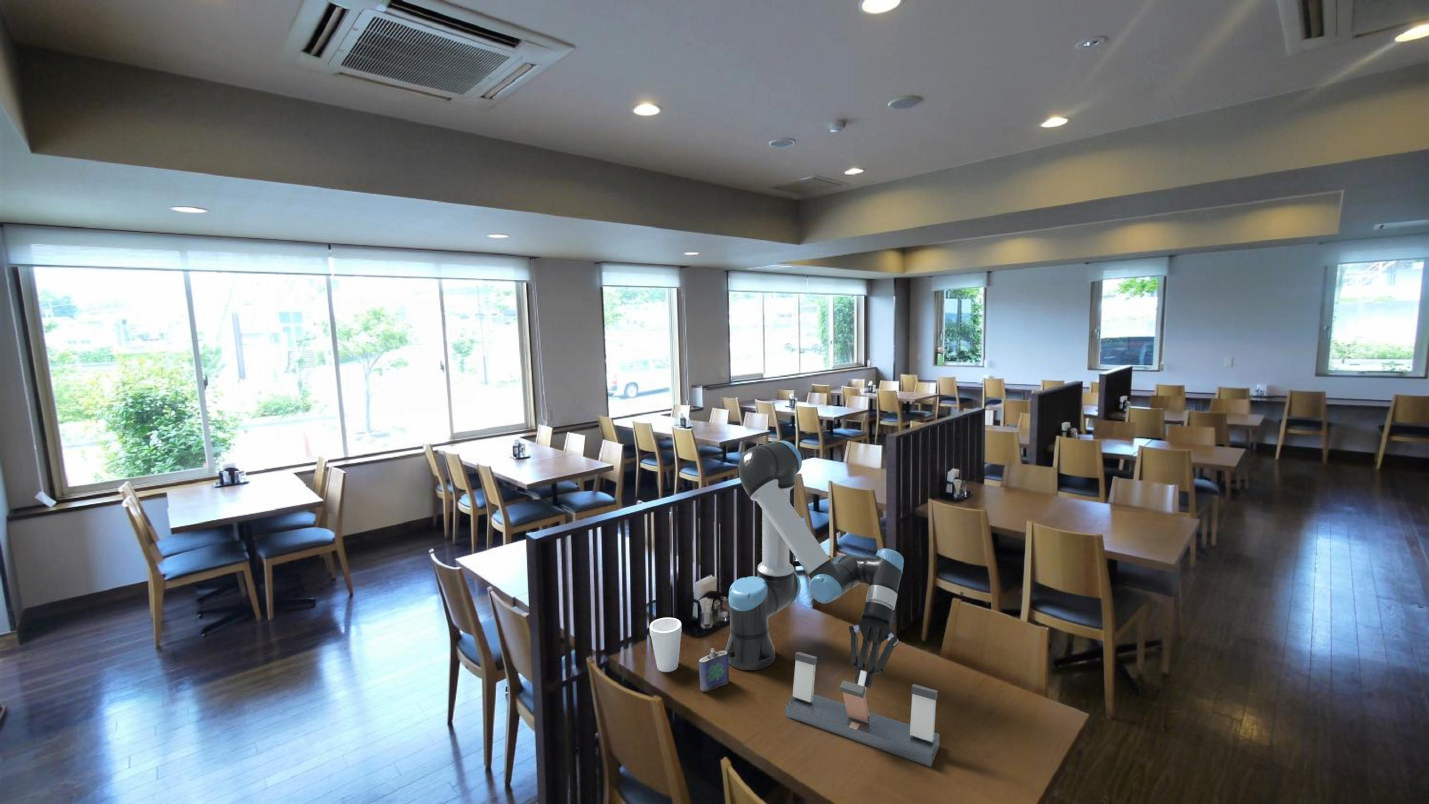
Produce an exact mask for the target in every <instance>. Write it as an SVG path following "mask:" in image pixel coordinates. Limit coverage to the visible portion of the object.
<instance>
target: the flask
mask: <svg viewBox="0 0 1429 804" xmlns="http://www.w3.org/2000/svg"><path fill="white" fill-rule="evenodd" d="M708 651H710V653H709V654H708V655H706V656H704V657H702V658H699V660H698V665H699V666H698V667H699V671H698V672H699V690H700V692H702V693H704V692H705V693H707V692H710V691H712V690H715V689H717V688H718V687H721V686H725V685H728V684H729V683H730V673H729V671H730V670H729V669H730V668H729V667H730V666H729V665H730V664H729V662H728V652H727V651H726V650H719V651H716V650H715V649H714V647H713V648H710V649H709V650H708Z"/></svg>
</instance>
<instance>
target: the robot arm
mask: <svg viewBox="0 0 1429 804" xmlns="http://www.w3.org/2000/svg"><path fill="white" fill-rule="evenodd" d="M802 465H803V460H802V455H801V453H800V451H799V449H798V448H797V447H796V446H795V445H794V444H793V443H792V442H790V441H786V440H778V441H776V440H774V441H771V442H767V443H764V444H761V445H756V446H753V447H750V448H747V450H746V451H745V452H743V454H742V456H741V457H740V459H739V463H738V476H739V480H740V483H741V485H742V487H743V489H744V491H745V493H746V494H747V496H748V497H749V499H750V500H751V501H755V502H756V503H757V504H758V505H759V506H760V508H761V512H762V517H761V520H762V521H761V525H762V527H761V529H762V530H761V532H762V536H761V541H762V542H761V543H762V545H761V546H762V548H761V551H762V552H761V554H762V557H761V558H762V559H761V560H762V561H761V562H760V563H759V564H758V565H757V576H752V575H751V576H747V577H740V578H738V579H736V580H735V581H733V583H731V585H730V587H729V590H728V607H729V608H728V609H729V610H728V611H729V626H730V627H729V629H730V631H729V637H728V640H727V644H726V647H725V651H727V652H728V662H729V664H728V665H730V666H731V667H733V668H736V669H738V670H743V671H759V670H763V669H765V668H767V667H769V666H771V665H772V664H773V663H774V662H775V659H776V649H775V646H774V644H773V640H772V638H771V636H770V632H769V618H770V617H771V616H774V615H775V614H776V613H778V612H780V611H782V610H783V609H785V608H787V607H790V606H791V605H792V604H793V603H794V602H795V601H796V600H797V599H798V597H799V596H800V594H801V588H802V587H801V586H802V584H801V579H800V577H799V576H798V573H797V571H795V567H794V565H793V564H791V563H790V551H791V553H792V554H793V555H794V557H795V558H796V560H797V562H799V564H800V566H801V567H802V569H803V570H804V572H805V573H806V574H807V576H808V578H809V579H810V581H809V585H808V588H809V592H810V594H811V596H812V598H813V599H814V600H815V601H817V602H818V603H820V604H828V603H831V602H833V601H834V600H838V599H839V598H841V596H843V595H844V594H845V593H847V592H848V591H850V590H852V589H854V588H855V587H857V586H858V585H866V586H868V589H867V594H866V599H865V603H864V607H863V611H862V614H861V619H860V621H858V624H857V625H854V626H853V625H849V626H848V632H849V633H850V664H851V665H852V666H853V668H855V669H856V674H855V677H854V684H858V685H861V686H864V687H865V694H867V693H866V692H867V689H871V687H872V683H873V679H874V676H875V675H882V674H883V671H884V669H885V668H886V666H887V664H888V662H889V659H890V657H891V655H892V653H893V650H894V649H895V648H896V647H897V646H898V645H899V644H900V641H899V639H898V637H897V636H895V635H894V634H893V631H892V623H893V620H894V610H895V607H896V605H897V599H898V594H899V587H900V583H901V578H902V574H903V573H904V572H903V569H904V563H905V562H904V561H905V560H904V557H903V556H902V554H901V553H900V552H898V551H896V550H894V549H890V548H880V549H877V552H876V554H875V556H859V555H858V556H857V555H852V554H845V555H844V554H842V555H841V554H840V555H837V556H835V558H834V560H833V561H832V560H831V558H830V556H829V555H828V554H827V553H826V551H825V550H824V549H823V547H822V545H821V544H820V543H819V542H818V540H817V539H816V537H815V536H814V535H813V533H812V531H810V529H809V527H807V524H806V523H805V522H804V521H803V519H802V517H800V515H799V514H798V512H797V511H796V509H795V508H794V507H793V506H792V505H793V504H791V502H790V499H791V495H790V494H791V490H792V489H794V487H795V486H796V484H795V483H796V481H795V480H796V475H797V474H798V473H799V472H800V471H801V469H802ZM859 634H861V636H862V643H861V648H860V652H859V636H858V635H859ZM886 640H887V643H886V645H885V646H884V649H883V651H882V653H881V655H880V656H879V654H880V649H881V646H882V643H883V642H884V641H886ZM871 644H872V646H871ZM870 647H871V650H870ZM869 650H870V655H869ZM868 656H869V659H868ZM878 658H879V659H878ZM867 659H868V662H867ZM867 663H868V664H867ZM866 664H867V668H866ZM865 669H866V670H865Z"/></svg>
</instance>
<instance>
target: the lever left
mask: <svg viewBox="0 0 1429 804" xmlns="http://www.w3.org/2000/svg"><path fill="white" fill-rule="evenodd" d="M794 660H795V665H794V675H793V687H792V688H793V689H792V697H796V698H799V699H802V700H805V701H808V702H812V701H813V694H814V689H815V681H816V680H815V677H816V665H817V664H818V656H814V655H811V654H807V653H804V652H801V651H797V652H795V653H794Z"/></svg>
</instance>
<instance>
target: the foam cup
mask: <svg viewBox="0 0 1429 804" xmlns="http://www.w3.org/2000/svg"><path fill="white" fill-rule="evenodd" d="M682 632H683V631H682V622H681V620H679V619H677V618H675V617H662V618H658V619H655V620H654V621H651V623H650V624H649V635H650V637H651V641H652V648H653V654H654V658H655V663H656V667H657V670H658V671H659V672H662V673H670V672H673V671H675V670H677V668H678V667H679V661H680V660H679V659H680V650H681V640H682V639H681V638H682V637H681V636H682Z"/></svg>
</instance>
